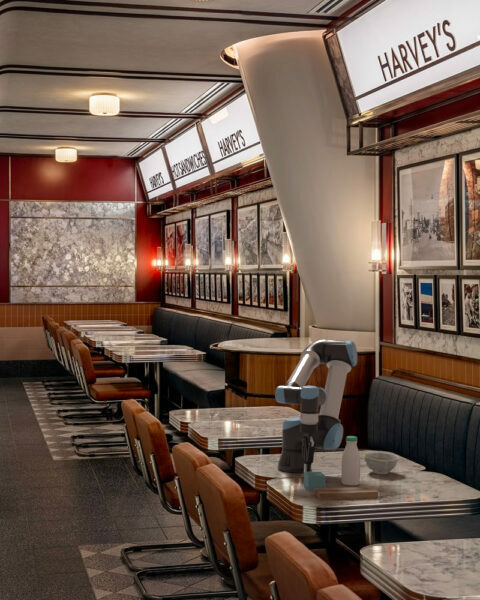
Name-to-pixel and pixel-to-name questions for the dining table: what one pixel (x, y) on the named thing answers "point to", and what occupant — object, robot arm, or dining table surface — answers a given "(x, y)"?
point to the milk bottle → (351, 463)
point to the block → (314, 480)
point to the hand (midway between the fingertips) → (307, 478)
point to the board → (345, 493)
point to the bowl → (381, 462)
